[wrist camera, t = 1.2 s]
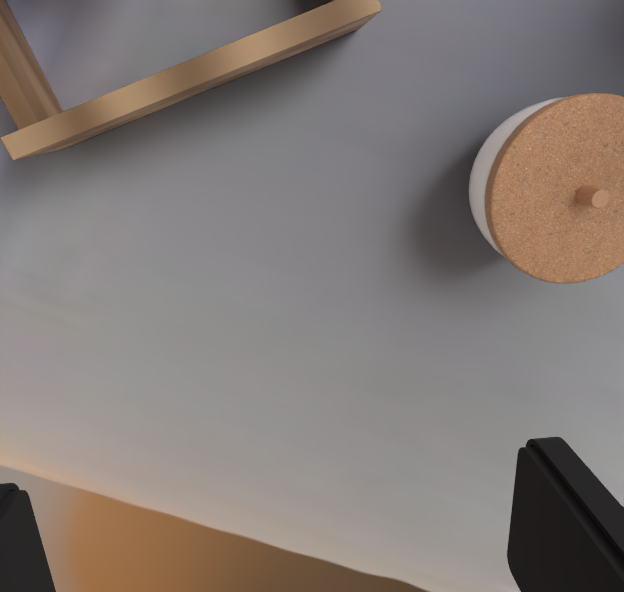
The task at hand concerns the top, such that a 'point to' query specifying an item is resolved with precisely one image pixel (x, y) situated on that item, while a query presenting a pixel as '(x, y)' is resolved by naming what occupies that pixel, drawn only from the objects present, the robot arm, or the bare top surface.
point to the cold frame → (150, 77)
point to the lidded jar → (555, 188)
